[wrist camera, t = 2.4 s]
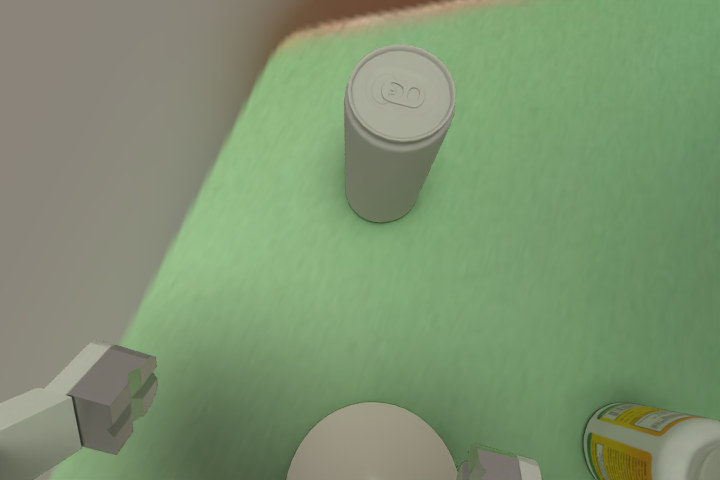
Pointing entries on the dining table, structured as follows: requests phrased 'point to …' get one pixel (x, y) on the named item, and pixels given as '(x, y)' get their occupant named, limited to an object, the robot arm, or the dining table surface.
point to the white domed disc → (372, 447)
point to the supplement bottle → (651, 444)
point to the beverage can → (394, 128)
